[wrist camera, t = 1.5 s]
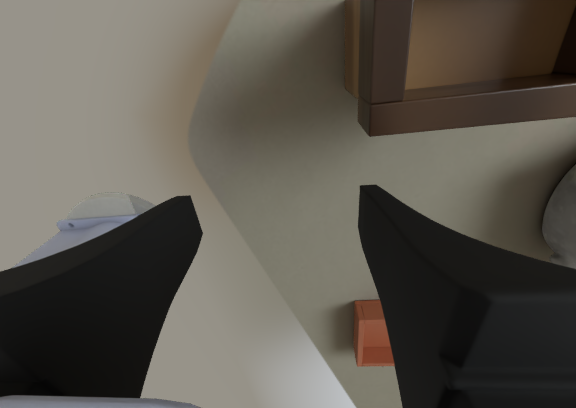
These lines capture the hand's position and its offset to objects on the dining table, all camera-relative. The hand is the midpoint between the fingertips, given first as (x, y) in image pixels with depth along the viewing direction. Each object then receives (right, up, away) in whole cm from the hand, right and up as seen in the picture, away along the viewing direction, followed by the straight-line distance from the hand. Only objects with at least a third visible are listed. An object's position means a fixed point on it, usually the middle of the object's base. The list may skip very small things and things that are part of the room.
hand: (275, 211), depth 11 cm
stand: (+8, +11, +5) cm, 15 cm away
